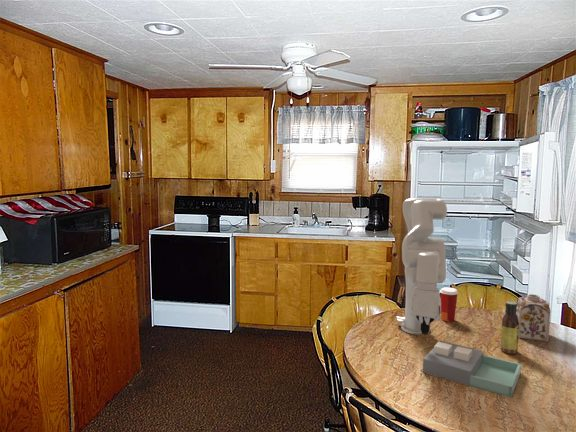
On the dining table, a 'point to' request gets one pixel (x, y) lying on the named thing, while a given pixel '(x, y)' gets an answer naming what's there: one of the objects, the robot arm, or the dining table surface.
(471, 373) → the slate block
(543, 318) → the decorative jar
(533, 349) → the dining table surface
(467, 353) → the tile
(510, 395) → the box
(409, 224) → the robot arm
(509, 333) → the sauce bottle
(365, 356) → the dining table surface
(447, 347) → the tile
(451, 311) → the coffee cup
